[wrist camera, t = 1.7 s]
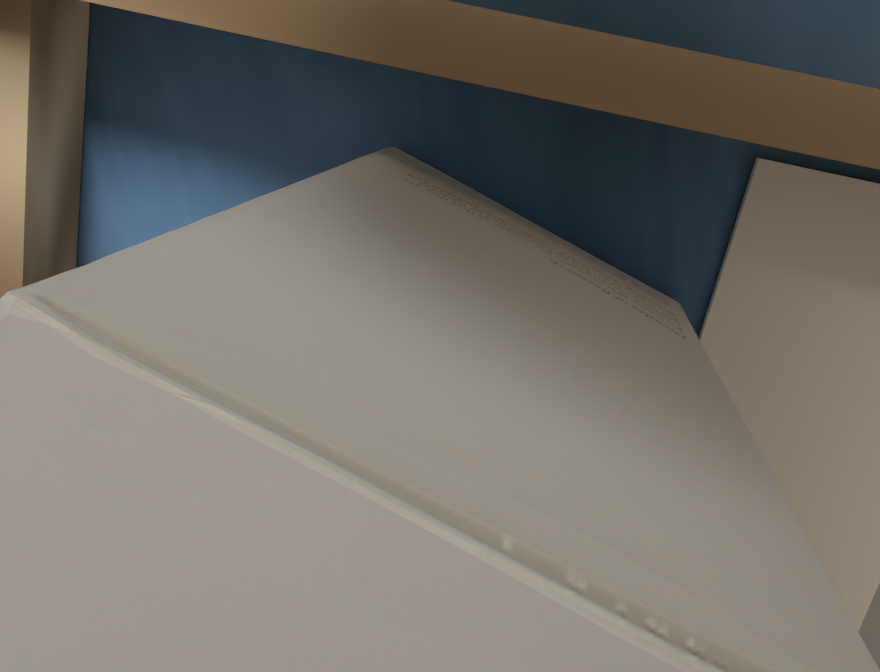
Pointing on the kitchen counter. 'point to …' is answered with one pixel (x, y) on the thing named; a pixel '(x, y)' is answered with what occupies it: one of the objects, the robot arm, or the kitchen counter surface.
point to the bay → (403, 46)
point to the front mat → (809, 356)
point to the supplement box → (385, 456)
